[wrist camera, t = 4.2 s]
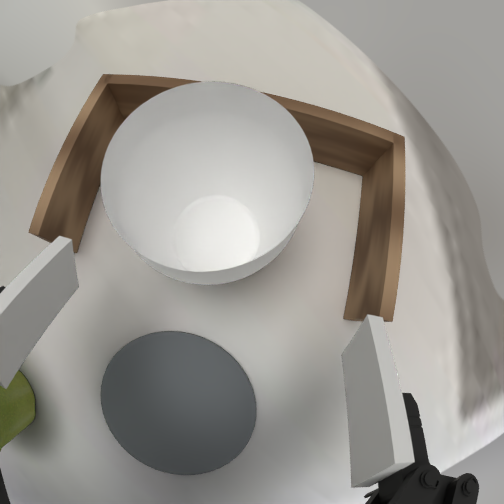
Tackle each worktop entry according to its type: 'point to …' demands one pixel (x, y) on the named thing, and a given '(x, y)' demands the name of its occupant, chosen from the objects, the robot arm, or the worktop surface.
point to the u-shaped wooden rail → (323, 151)
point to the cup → (207, 181)
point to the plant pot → (15, 408)
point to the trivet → (178, 403)
